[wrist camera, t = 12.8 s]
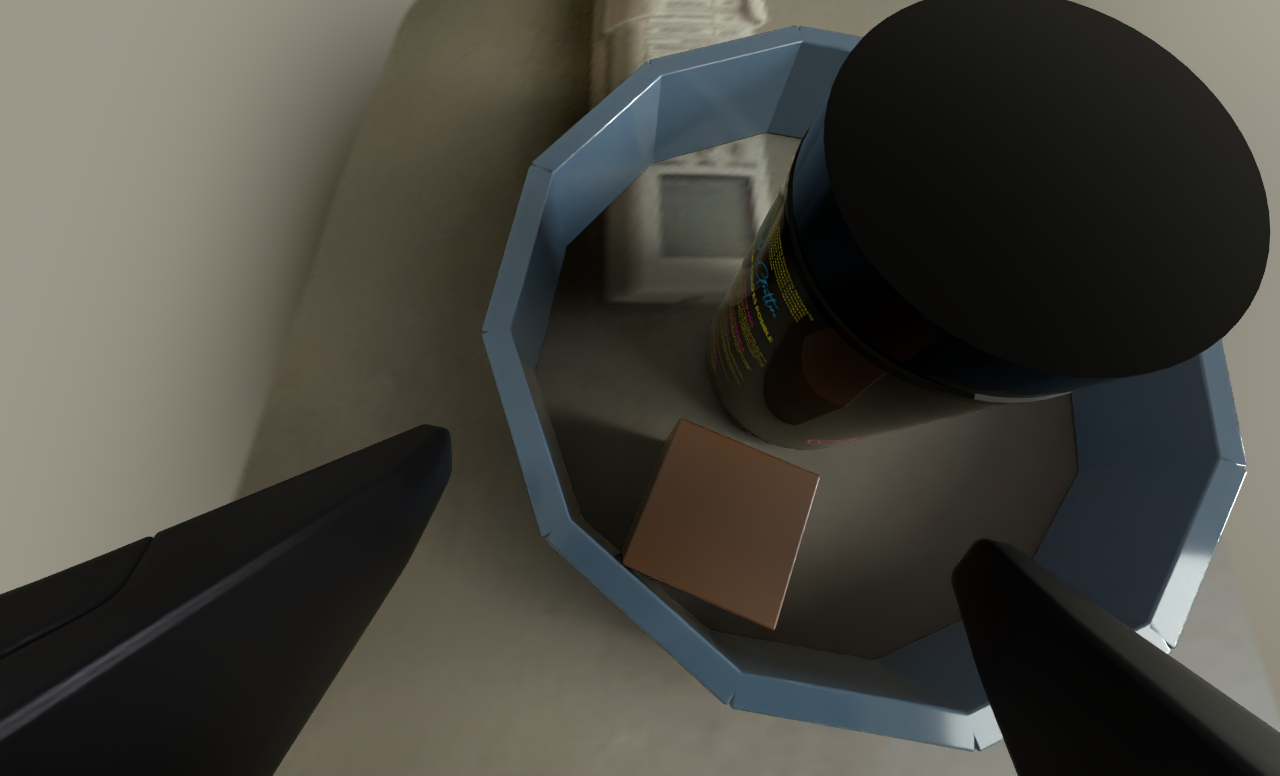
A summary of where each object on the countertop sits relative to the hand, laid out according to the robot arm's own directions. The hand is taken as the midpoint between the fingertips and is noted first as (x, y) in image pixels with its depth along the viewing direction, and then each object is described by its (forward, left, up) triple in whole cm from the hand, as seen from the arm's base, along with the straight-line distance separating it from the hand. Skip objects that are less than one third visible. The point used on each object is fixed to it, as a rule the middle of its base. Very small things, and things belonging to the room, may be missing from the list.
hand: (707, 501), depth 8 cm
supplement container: (+6, -4, -8) cm, 11 cm away
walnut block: (0, -1, -8) cm, 8 cm away
